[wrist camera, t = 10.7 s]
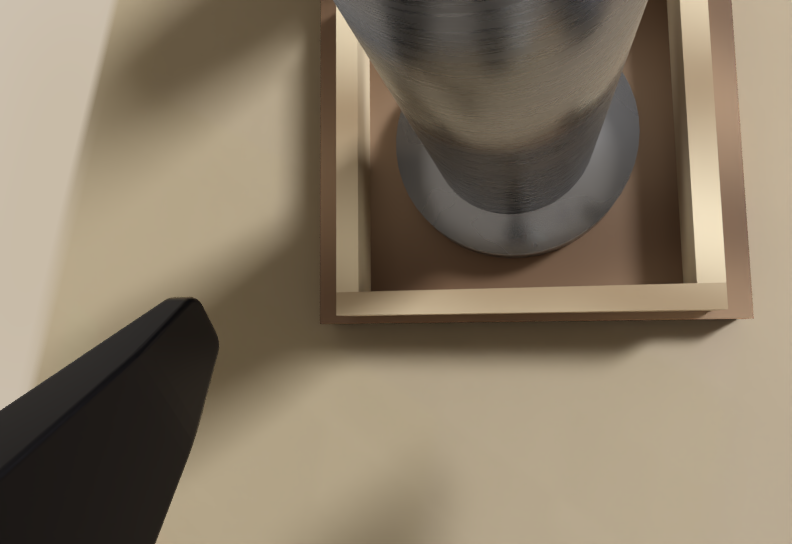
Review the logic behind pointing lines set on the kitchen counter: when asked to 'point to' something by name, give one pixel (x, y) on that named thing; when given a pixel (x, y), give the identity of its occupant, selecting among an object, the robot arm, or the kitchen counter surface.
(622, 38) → the grey cylindrical piece
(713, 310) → the pin board
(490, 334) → the kitchen counter surface
